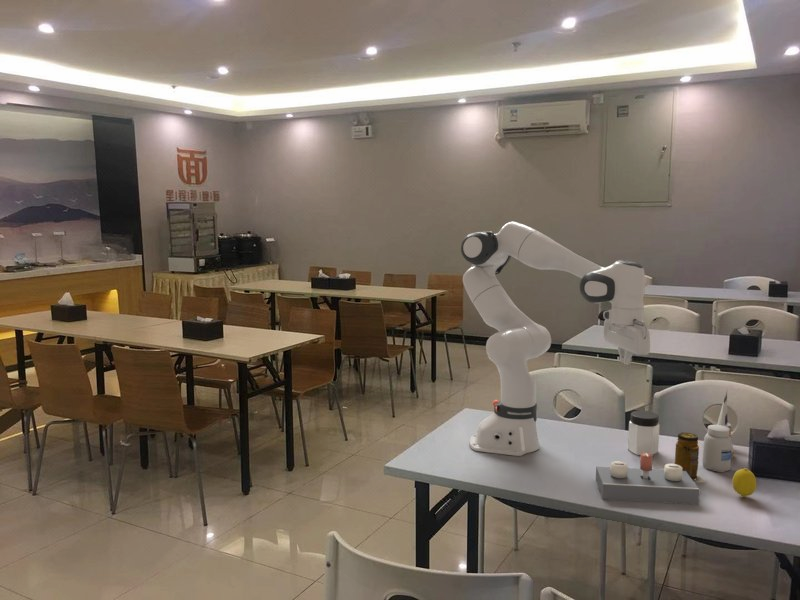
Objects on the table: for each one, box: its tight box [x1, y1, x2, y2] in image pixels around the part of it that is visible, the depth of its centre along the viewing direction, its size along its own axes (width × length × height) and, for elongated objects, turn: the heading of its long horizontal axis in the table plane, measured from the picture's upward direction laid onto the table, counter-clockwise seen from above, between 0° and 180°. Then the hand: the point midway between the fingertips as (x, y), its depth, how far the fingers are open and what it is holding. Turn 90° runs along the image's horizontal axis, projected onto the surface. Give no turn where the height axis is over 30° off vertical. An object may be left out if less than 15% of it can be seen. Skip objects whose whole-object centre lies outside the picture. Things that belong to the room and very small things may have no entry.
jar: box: [627, 410, 660, 456], centre depth 201 cm, size 9×8×12 cm
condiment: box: [674, 431, 706, 484], centre depth 182 cm, size 7×8×12 cm
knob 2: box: [663, 463, 682, 481], centre depth 171 cm, size 4×4×7 cm
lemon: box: [732, 467, 757, 498], centre depth 169 cm, size 6×6×8 cm
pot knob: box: [639, 453, 654, 480], centre depth 172 cm, size 3×3×8 cm
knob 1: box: [609, 460, 629, 478], centre depth 173 cm, size 4×4×7 cm
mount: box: [595, 466, 700, 505], centre depth 173 cm, size 24×12×4 cm, turn 82°
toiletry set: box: [702, 388, 735, 473], centre depth 194 cm, size 25×8×21 cm, turn 148°
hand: (625, 363), depth 186 cm, fingers closed
